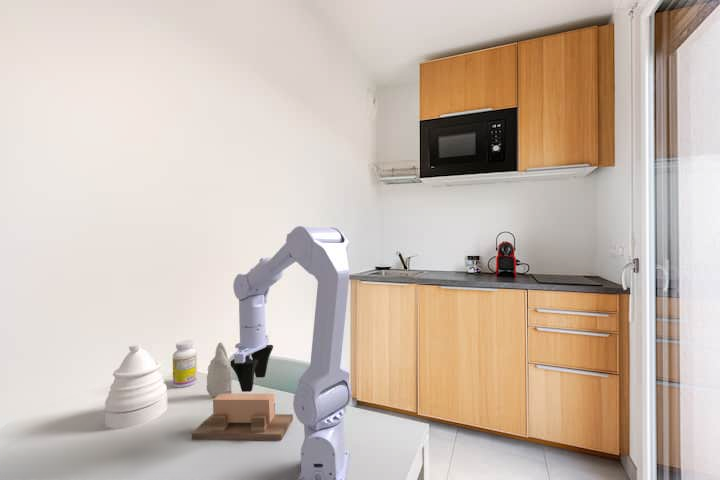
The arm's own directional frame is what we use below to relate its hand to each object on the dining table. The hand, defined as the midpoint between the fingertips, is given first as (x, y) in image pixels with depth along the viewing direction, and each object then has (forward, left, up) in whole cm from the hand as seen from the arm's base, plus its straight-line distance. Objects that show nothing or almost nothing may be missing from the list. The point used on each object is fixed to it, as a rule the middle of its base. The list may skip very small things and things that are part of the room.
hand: (254, 383), depth 73 cm
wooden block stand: (-2, +2, -9) cm, 10 cm away
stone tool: (+14, +17, -10) cm, 24 cm away
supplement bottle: (+22, +32, -10) cm, 40 cm away
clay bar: (-2, +2, -7) cm, 8 cm away
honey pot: (+4, +33, -10) cm, 34 cm away
